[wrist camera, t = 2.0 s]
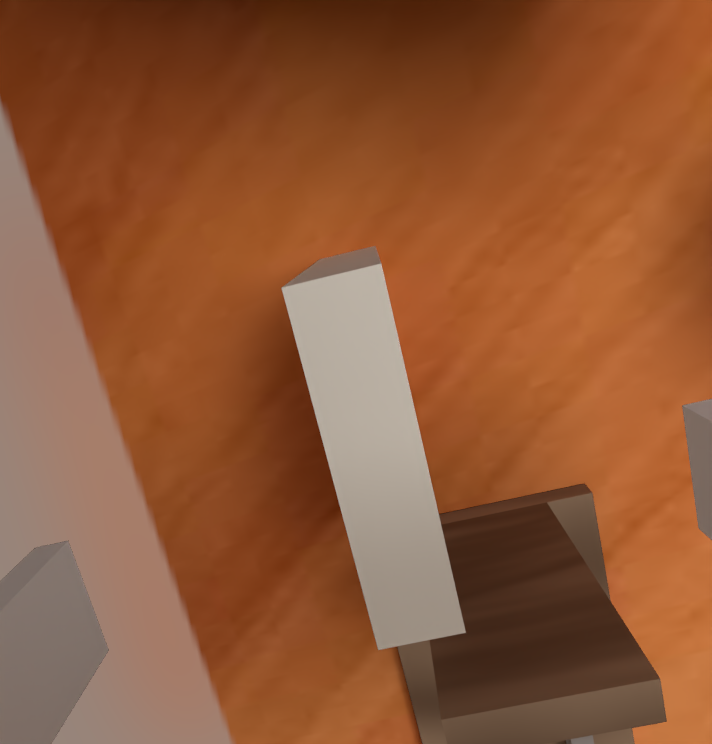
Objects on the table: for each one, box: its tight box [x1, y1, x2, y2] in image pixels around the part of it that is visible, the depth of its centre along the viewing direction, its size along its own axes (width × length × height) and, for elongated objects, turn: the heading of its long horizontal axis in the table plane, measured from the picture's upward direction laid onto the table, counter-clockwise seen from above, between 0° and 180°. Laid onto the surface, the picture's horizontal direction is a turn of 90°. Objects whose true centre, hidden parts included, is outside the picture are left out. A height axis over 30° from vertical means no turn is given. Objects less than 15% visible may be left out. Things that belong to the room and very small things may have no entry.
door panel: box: [282, 246, 466, 650], centre depth 22 cm, size 10×2×12 cm, turn 14°
